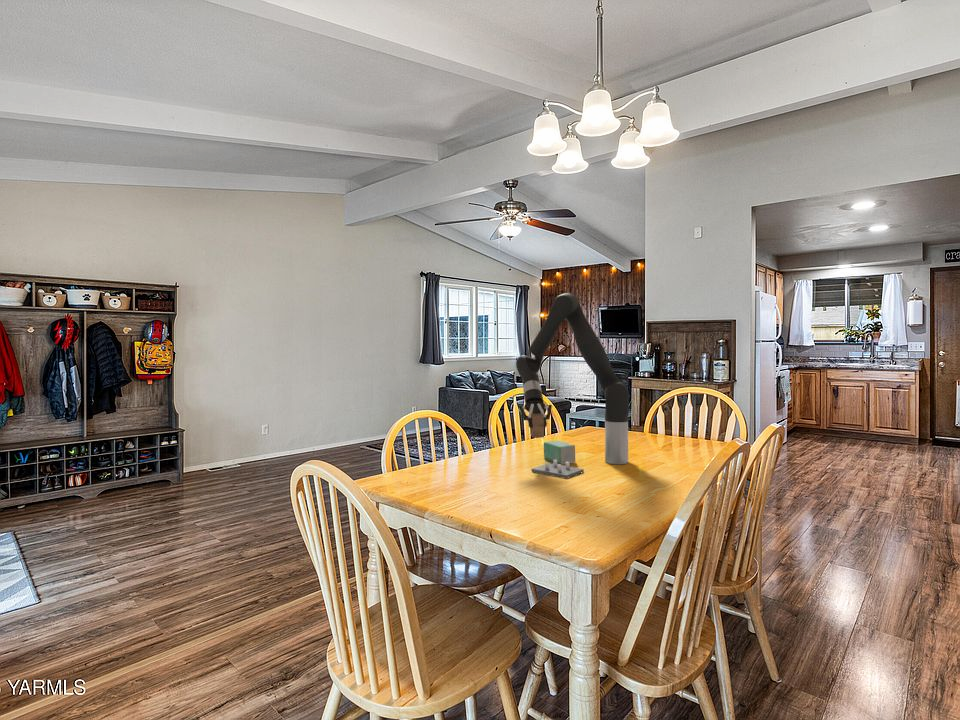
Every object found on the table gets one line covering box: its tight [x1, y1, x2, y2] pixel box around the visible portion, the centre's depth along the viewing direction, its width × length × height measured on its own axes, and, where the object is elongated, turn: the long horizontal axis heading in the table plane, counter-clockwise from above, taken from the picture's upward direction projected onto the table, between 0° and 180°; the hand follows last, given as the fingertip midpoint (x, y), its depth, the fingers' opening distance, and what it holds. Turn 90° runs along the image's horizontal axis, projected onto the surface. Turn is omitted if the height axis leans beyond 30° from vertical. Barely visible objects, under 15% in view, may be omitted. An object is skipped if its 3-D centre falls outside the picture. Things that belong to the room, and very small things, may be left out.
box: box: [543, 440, 576, 465], centre depth 228 cm, size 7×14×8 cm, turn 25°
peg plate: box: [531, 460, 585, 479], centre depth 208 cm, size 12×16×4 cm
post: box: [530, 413, 545, 439], centre depth 216 cm, size 4×4×9 cm
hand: (538, 427), depth 214 cm, fingers closed on post, 4 cm apart
